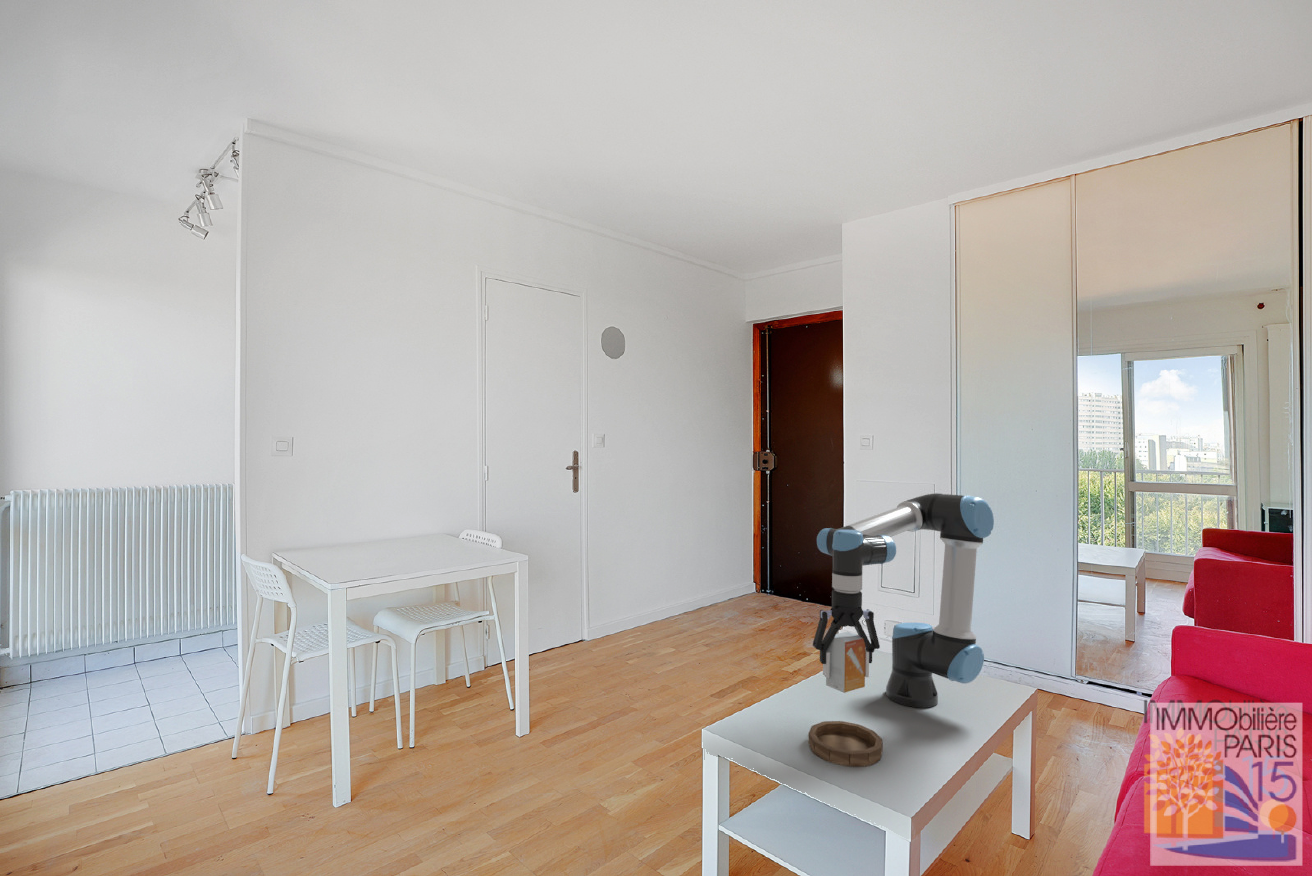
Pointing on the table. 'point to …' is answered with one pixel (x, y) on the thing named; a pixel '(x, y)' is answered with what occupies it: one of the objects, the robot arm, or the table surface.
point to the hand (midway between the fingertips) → (845, 675)
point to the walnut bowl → (845, 743)
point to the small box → (847, 662)
